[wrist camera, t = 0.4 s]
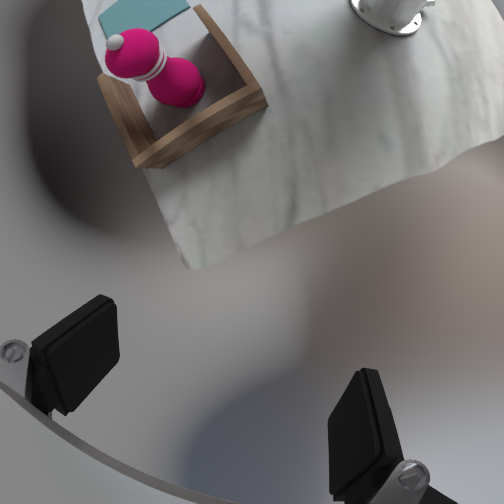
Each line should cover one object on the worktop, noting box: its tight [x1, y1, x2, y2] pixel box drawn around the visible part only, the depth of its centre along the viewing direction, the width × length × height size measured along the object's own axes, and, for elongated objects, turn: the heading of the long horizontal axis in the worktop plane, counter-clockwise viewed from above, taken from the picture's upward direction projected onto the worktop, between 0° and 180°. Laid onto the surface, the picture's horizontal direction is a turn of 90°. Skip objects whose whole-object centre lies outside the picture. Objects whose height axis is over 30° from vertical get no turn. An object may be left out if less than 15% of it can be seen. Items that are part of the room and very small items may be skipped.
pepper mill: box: [105, 28, 205, 108], centre depth 26 cm, size 7×7×20 cm
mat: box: [98, 0, 190, 38], centre depth 31 cm, size 16×16×1 cm
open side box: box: [97, 4, 268, 169], centre depth 32 cm, size 18×17×8 cm
